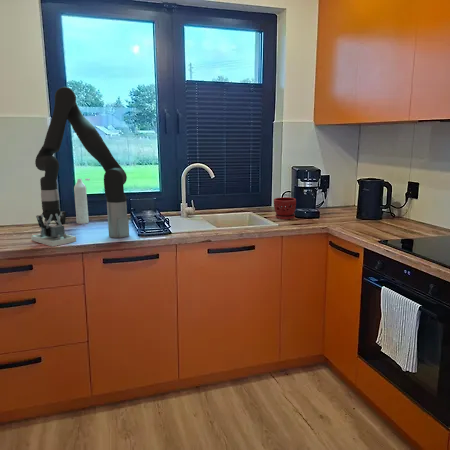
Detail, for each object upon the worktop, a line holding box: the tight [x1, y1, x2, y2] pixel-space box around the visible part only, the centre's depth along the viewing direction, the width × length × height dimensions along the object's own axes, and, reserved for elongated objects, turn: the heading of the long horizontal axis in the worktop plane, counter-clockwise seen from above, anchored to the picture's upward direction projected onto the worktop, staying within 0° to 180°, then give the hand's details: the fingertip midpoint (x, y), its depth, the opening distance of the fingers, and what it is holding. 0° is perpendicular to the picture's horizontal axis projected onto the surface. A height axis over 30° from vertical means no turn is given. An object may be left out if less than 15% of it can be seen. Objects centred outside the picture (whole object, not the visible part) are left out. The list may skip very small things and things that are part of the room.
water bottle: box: [73, 177, 91, 225], centre depth 232 cm, size 9×6×25 cm
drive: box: [40, 222, 66, 238], centre depth 194 cm, size 10×5×5 cm, turn 59°
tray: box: [30, 230, 77, 247], centre depth 195 cm, size 18×12×4 cm, turn 52°
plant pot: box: [273, 196, 297, 221], centre depth 247 cm, size 13×13×12 cm
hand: (53, 234), depth 194 cm, fingers closed on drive, 5 cm apart
